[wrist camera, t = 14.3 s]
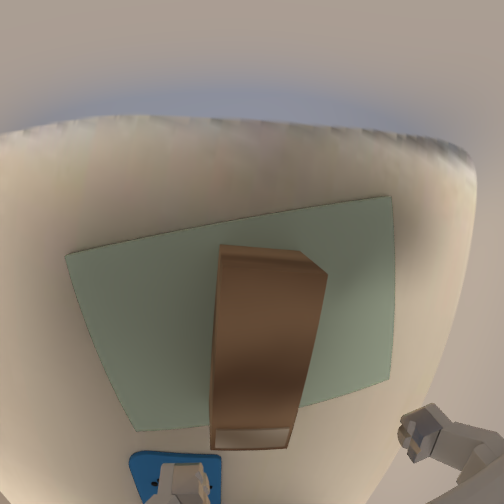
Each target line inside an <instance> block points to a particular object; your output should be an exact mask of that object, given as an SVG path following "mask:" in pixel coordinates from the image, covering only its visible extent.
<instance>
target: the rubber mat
mask: <svg viewBox="0 0 504 504" xmlns="http://www.w3.org/2000/svg"><path fill="white" fill-rule="evenodd" d="M220 244H223V245H235V246H248V247H260V248H272V249H285V250H297V251H301V252H302V253H303V254H304V255H306V256H307V257H308V258H309V259H310V260H312V261H313V262H314V263H315V264H316V265H318V266H319V267H320V268H321V269H323V270H324V271H325V272H326V273H327V274H328V279H327V284H326V290H325V295H324V300H323V305H322V310H321V315H320V320H319V325H318V330H317V334H316V339H315V343H314V348H313V352H312V357H311V361H310V365H309V369H308V373H307V377H306V381H305V385H304V389H303V393H302V397H301V401H300V405H299V408H300V407H304V406H308V405H312V404H315V403H319V402H323V401H326V400H329V399H333V398H336V397H339V396H343V395H346V394H349V393H352V392H355V391H358V390H361V389H364V388H367V387H370V386H372V385H375V384H378V383H381V382H383V381H386V380H389V377H390V368H391V358H392V346H393V331H394V309H395V246H394V225H393V210H392V197H390V196H383V197H375V198H368V199H361V200H354V201H347V202H341V203H334V204H327V205H321V206H314V207H308V208H302V209H296V210H289V211H283V212H277V213H271V214H266V215H260V216H254V217H248V218H243V219H237V220H231V221H226V222H220V223H215V224H210V225H204V226H199V227H194V228H189V229H184V230H178V231H173V232H168V233H163V234H158V235H153V236H149V237H144V238H139V239H134V240H129V241H125V242H120V243H115V244H111V245H106V246H102V247H97V248H93V249H88V250H84V251H79V252H75V253H71V254H68V255H66V256H65V260H66V263H67V267H68V270H69V274H70V277H71V281H72V284H73V287H74V290H75V294H76V297H77V300H78V303H79V306H80V309H81V312H82V314H83V317H84V320H85V323H86V325H87V328H88V331H89V333H90V336H91V338H92V341H93V344H94V346H95V348H96V351H97V353H98V356H99V358H100V360H101V363H102V365H103V367H104V369H105V372H106V374H107V376H108V378H109V380H110V382H111V385H112V387H113V389H114V391H115V393H116V395H117V397H118V399H119V401H120V403H121V405H122V407H123V409H124V411H125V412H126V414H127V416H128V418H129V420H130V422H131V424H132V425H133V427H134V429H135V431H136V432H138V431H157V430H170V429H181V428H191V427H199V426H207V425H209V389H210V370H211V352H212V336H213V321H214V307H215V294H216V281H217V269H218V257H219V245H220Z"/></svg>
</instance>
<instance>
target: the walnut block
mask: <svg viewBox="0 0 504 504" xmlns="http://www.w3.org/2000/svg"><path fill="white" fill-rule="evenodd" d="M327 279H328V274H327V273H326V272H325V271H324V270H323V269H321V268H320V267H319V266H318V265H316V264H315V263H314V262H313V261H312V260H310V259H309V258H308V257H307V256H306V255H304V254H303V253H302V252H301V251H297V250H285V249H272V248H260V247H248V246H235V245H223V244H220V245H219V257H218V269H217V281H216V294H215V307H214V321H213V336H212V352H211V370H210V389H209V425H210V450H270V449H285V448H287V447H288V443H289V440H290V437H291V433H292V430H293V426H294V423H295V419H296V416H297V412H298V408H299V405H300V401H301V397H302V393H303V389H304V385H305V381H306V377H307V373H308V369H309V365H310V361H311V357H312V352H313V348H314V343H315V339H316V334H317V330H318V325H319V320H320V315H321V310H322V305H323V300H324V295H325V290H326V284H327Z"/></svg>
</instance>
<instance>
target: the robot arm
mask: <svg viewBox="0 0 504 504" xmlns="http://www.w3.org/2000/svg"><path fill="white" fill-rule="evenodd" d="M400 422H401V424H402V425H401V426H400V427H399V429H398V433H397V435H398V440H399V443H400V444H401V446H402V447H403V448H406V449H408V452H407V455H408V456H409V458H410V459H411V461H412V462H413V463H416V462H419V461H421V460H423V459H425V458H427V457H431V458H433V459H435V460H437V461H440V462H442V463H444V464H447V465H449V466H451V467H453V468H456V469H458V470H460V471H462V472H461V474H460V475H459V477H458V478H457V481H456V482H457V484H458V486H456V487H455V488H453V489H451V490H450V491H448V492H446V493H444V494H443V495H441V496H439V497H437V498H436V499H433V500H432V501H430V502H428V503H426V504H504V439H503V438H502V437H501V436H500V435H499V434H498V433H497V432H494V431H490V430H486V429H482V428H477V427H473V426H470V425H466V424H462V423H458V422H454V423H452V422H451V420H449V419H448V417H447V416H446V415H445V414H444V413H443V412H442V411H441V410H440V409H439V408H438V407H437V406H436V405H435V404H434V403H430V404H428V405H426V406H424V407H421V408H419V409H416V410H414V411H412V412H410V413H407V414H405V415H403V416H402V417H401V420H400ZM209 494H210V486H209V480H208V477H207V474H206V473H205V472H203V465H202V463H201V462H200V463H163V464H162V466H161V471H160V478H159V486H158V493H157V494H154V495H153V496H152V497H151V498H150V499H149V500H148V501H147V502H146V503H145V504H210V500H209V498H208V495H209Z"/></svg>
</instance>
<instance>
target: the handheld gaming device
mask: <svg viewBox="0 0 504 504" xmlns="http://www.w3.org/2000/svg"><path fill="white" fill-rule="evenodd" d="M200 462H201V463H202V465H203V472H205V473H206V474H207V477H208V480H209V486H210V494H209V495H208V498H209V500H210V504H221V457H220V456H219V455H212V454H183V453H169V452H157V451H140V452H137V453H134V454H133V455H132V456H131V457H130V459H129V467H130V470H131V473H132V476H133V479H134V481H135V484H136V487H137V489H138V492H139V495H140V497H141V500H142V502H143V504H145V503H146V502H147V501H148V500H149V499H150V498H151V497H152V496H153V495H154V494H157V493H158V486H159V478H160V471H161V466H162V464H163V463H200Z"/></svg>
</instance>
